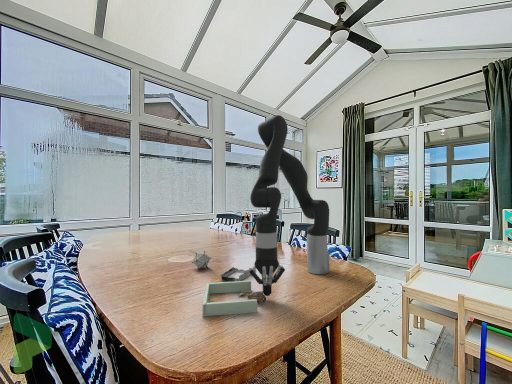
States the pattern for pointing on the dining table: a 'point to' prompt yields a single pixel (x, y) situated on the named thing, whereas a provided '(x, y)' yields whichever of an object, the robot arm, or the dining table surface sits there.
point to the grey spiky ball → (201, 260)
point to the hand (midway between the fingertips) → (267, 295)
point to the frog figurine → (253, 295)
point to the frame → (228, 306)
